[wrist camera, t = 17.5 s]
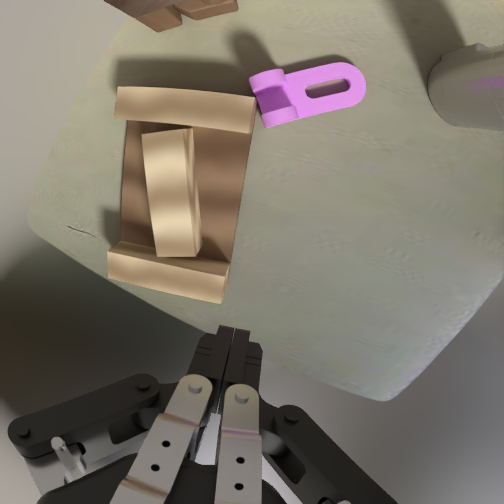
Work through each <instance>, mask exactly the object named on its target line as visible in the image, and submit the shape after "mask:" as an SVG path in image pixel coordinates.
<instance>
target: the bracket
mask: <svg viewBox="0 0 504 504" xmlns="http://www.w3.org/2000/svg"><path fill="white" fill-rule="evenodd" d="M339 78H342V79H345V80H346V81H347V82H348V84H349V88H348V90H347V91H346V92H341V93H337V94H332V95H328V96H324V97H319V98H315V99H312V98H309V97H308V96H307V95H306V93H305V89H306V87H307V86H309V85H312V84H317V83H321V82H325V81H330V80H334V79H339ZM249 82H250V85H251V88H252V91H253V92H254V94H255V95H256V97H257V100H258V103H259V106H260V109H261V112H262V115H261V117H262V120H263V123H264V126H265V128H268V127H272V126H275V125H279V124H282V123H286V122H289V121H293V120H297V119H300V118H304V117H308V116H312V115H316V114H320V113H324V112H328V111H332V110H337V109H341V108H346V107H350V106H353V105H355V104H357V103H359V102H360V101H361V100H362V98H363V97H364V95H365V92H366V82H365V79H364V76H363V75H362V73H361V72H360V71H359V70H358V69H357V68H356V67H354V66H353V65H351V64H348V63H343V62H338V63H332V64H328V65H323V66H318V67H314V68H310V69H306V70H301V71H297V72H293V73H290V74H286V75H284V72H283V69H274V70H269V71H265V72H262V73H259V74H256V75H254V76H252V77H250V78H249Z"/></svg>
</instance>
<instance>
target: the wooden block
mask: <svg viewBox="0 0 504 504" xmlns="http://www.w3.org/2000/svg"><path fill="white" fill-rule="evenodd" d="M104 1H105V2H107V3H109V4H110V5H112V6H114V7H116V8H118V9H120V10H121V11H123V12H124V13H126V14H128V15H130V16H131V17H133V18H136V19H137V20H138V21H140V22H142V23H143V24H145V25H146V26H148V27H150V28H151V29H153V30H154V31H156V32H161V31H164V30H167V29H170V28H173V27H177V26H180V25H182V18H181V14H183V15H185V16H187V17H190V18H192V19H194V20H201V19H204V18H208V17H212V16H216V15H221V14H225V13H229V12H234V11H238V5H237V0H104Z"/></svg>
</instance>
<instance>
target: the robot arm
mask: <svg viewBox="0 0 504 504" xmlns="http://www.w3.org/2000/svg"><path fill="white" fill-rule="evenodd" d="M428 92H429V97H430V100H431V103H432V105H433V107H434V108H435V110H436V112H437V113H438V114H439V115H440V116H441V117H442V118H443V119H444V120H445V121H446V122H448V123H450V124H452V125H455V126H461V127H467V128H480V129H488V130H496V131H503V132H504V44H503V45H498V46H494V47H490V48H488V47H486V46H485V45H483V44H481V43H476V44H473V45H470V46H467V47H464V48H461V49H458V50H455V51H452V52H449V53H446V54H444V55H442V56H441V61H440V62H439V63H438V64H437V65H435V66H434V68H433V69H432V70H431V73H430V75H429V79H428ZM233 333H234V337H233ZM249 336H250V331H247V330H242V329H237V328H235V332H234V328H232V327H227V326H222V325H219V328H218V331H217V334H216V335H215V334H210V333H206V334H205V335H203V336H202V337H201V338H200V340H199V343H198V345H197V348H196V350H195V353H194V356H193V359H192V361H191V364H190V367H189V369H188V372H187V375H186V376H185V377H183V378H182V379H181V380H180V381H179V382H177V383H172V384H159V382H158V381H157V379H156V378H155V377H153V376H151V375H148V374H136V375H133V376H131V377H128V378H126V379H123V380H121V381H118V382H116V383H113V384H111V385H108V386H106V387H103V388H101V389H98V390H95V391H93V392H90V393H87V394H85V395H82V396H80V397H77V398H74V399H71V400H68V401H66V402H63V403H61V404H58V405H55V406H52V407H49V408H46V409H43V410H40V411H37V412H34V413H32V414H28V415H25V416H22V417H19V418H17V419H15V420H13V421H12V422H11V423H10V425H9V427H8V436H9V438H10V440H11V442H12V443H13V444H14V446H15V447H16V449H17V451H18V453H19V454H20V455H21V457H22V458H23V459H24V461H25V462H26V464H27V466H28V468H29V471H30V473H31V475H32V477H33V479H34V481H35V483H36V485H37V487H38V489H39V491H40V493H41V495H42V497H41V498H40V499H39V500H38V502H37V504H287V503H286V502H285V501H284V499H283V498H282V497H281V496H280V494H279V493H278V492H277V490H275V488H274V487H273V486H271V485H270V484H269V483H268V482H266V481H264V480H263V479H262V455H263V456H264V458H265V459H266V460H267V461H268V463H269V464H270V465H271V466H272V467H273V469H274V470H275V471H276V472H277V474H278V475H279V476H280V477H281V478H282V480H283V481H284V482H285V483H286V485H287V486H288V487H289V488H290V489H291V490H292V492H293V493H294V494H295V495H296V496H297V497H298V498H299V499H300V501H301V502H302V503H303V504H398V503H397V502H396V501H395V500H394V499H393V498H392V497H391V496H390V495H388V494H387V493H386V492H385V491H384V490H383V489H382V488H381V487H380V486H379V485H378V484H377V483H376V482H374V481H373V480H372V479H371V478H370V477H369V476H368V475H367V474H366V473H365V472H364V471H363V470H362V469H361V468H360V467H359V466H358V465H357V464H356V463H355V462H354V461H353V460H351V459H350V457H349V456H348V455H347V454H346V453H345V452H344V451H342V450H341V448H340V447H339V446H337V445H336V443H335V442H334V441H333V440H332V439H331V438H330V437H329V436H328V435H327V434H326V433H325V432H324V431H323V430H322V429H321V428H320V427H319V426H318V425H317V424H316V423H315V422H314V421H313V420H312V419H311V418H310V417H309V416H308V414H307V413H306V412H305V411H304V410H303V409H301V408H299V407H297V406H294V405H284V406H281V407H279V408H277V407H274V406H272V405H270V404H268V403H266V402H265V401H264V400H263V399H262V398H261V396H260V394H259V391H258V390H259V389H258V388H259V380H260V371H261V361H262V353H263V351H262V349H261V346H260V344H259V343H255V342H249ZM232 339H233V341H232ZM231 344H232V345H231ZM220 394H221V396H220ZM219 399H220V402H219ZM218 403H219V408H218V414H221V420H220V425H219V431H218V440H217V448H216V458H215V465H201V464H198V463H196V462H195V459H196V456H197V453H198V450H199V447H200V445H201V442H202V439H203V436H204V433H205V431H206V428H207V424H208V422H209V420H210V416H211V413H216V412H217V407H218ZM144 438H146V439H145V441H144V443H143V445H142V447H141V449H140V451H139V453H134V454H130V455H127V456H124V457H122V458H120V459H118V460H116V461H114V462H112V463H110V464H108V465H106V466H104V467H102V468H100V469H98V470H96V471H94V472H92V473H90V474H87V475H85V476H83V475H84V474H85V472H86V469H87V464H89V463H91V462H94V461H96V460H98V459H101V458H103V457H105V456H108V455H110V454H112V453H114V452H116V451H119V450H121V449H123V448H125V447H127V446H129V445H132V444H133V443H136V442H138V441H140V440H142V439H144ZM82 476H83V477H82Z"/></svg>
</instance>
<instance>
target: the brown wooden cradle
mask: <svg viewBox="0 0 504 504" xmlns="http://www.w3.org/2000/svg"><path fill="white" fill-rule="evenodd" d="M257 105H258V100H257V99H256V98H255V97H248V96H241V95H234V94H226V93H218V92H209V91H199V90H188V89H174V88H157V87H118V90H117V96H116V103H115V111H114V119H118V120H128V127H127V136H126V146H125V157H124V169H123V184H122V204H121V241H120V242H118V243H117V244H116V245H115V246H113V247H112V248H111V249H110V250H108V251H107V256H108V278H111V279H115V280H119V281H122V282H126V283H130V284H134V285H139V286H143V287H147V288H151V289H155V290H159V291H164V292H168V293H172V294H177V295H181V296H185V297H190V298H194V299H199V300H204V301H208V302H213V303H218V304H221V302H222V299H223V296H224V293H225V290H226V287H227V283H228V277H229V270H230V264H231V258H232V251H233V245H234V239H235V233H236V227H237V220H238V214H239V208H240V202H241V196H242V190H243V184H244V179H245V173H246V167H247V161H248V155H249V150H250V144H251V138H252V133H253V127H254V121H255V116H256V110H257ZM190 128H193V140H194V153H195V165H196V177H197V188H198V199H199V209H200V219H201V229H202V238H203V246H202V247H201V249H200V250H199V252H198V253H197V255H196V257H157V253H156V247H155V240H154V234H153V228H152V221H151V214H150V207H149V199H148V192H147V183H146V175H145V166H144V156H143V146H142V135H141V134H148V133H155V132H162V131H170V130H178V129H190Z"/></svg>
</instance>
